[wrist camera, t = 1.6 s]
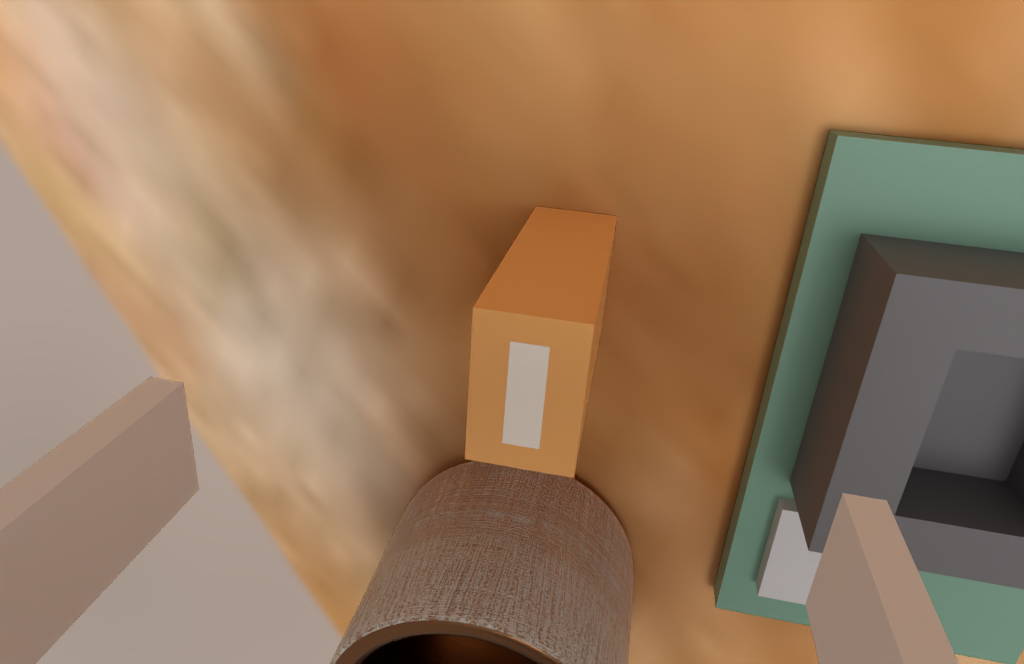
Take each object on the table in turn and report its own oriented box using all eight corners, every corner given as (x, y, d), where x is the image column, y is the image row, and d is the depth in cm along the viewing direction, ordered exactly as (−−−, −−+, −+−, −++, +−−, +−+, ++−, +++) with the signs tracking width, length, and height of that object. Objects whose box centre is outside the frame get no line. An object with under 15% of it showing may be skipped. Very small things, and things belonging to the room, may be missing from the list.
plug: (601, 327, 28) (573, 479, 19) (526, 317, 29) (464, 460, 20) (617, 216, 26) (594, 325, 17) (536, 206, 27) (472, 307, 18)
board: (1002, 642, 31) (1063, 756, 26) (713, 587, 32) (722, 685, 28) (1237, 171, 22) (1390, 215, 17) (829, 129, 24) (871, 159, 19)
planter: (429, 417, 31) (342, 571, 23) (669, 497, 31) (672, 686, 22) (385, 592, 36) (300, 774, 28) (593, 665, 36) (571, 874, 27)
